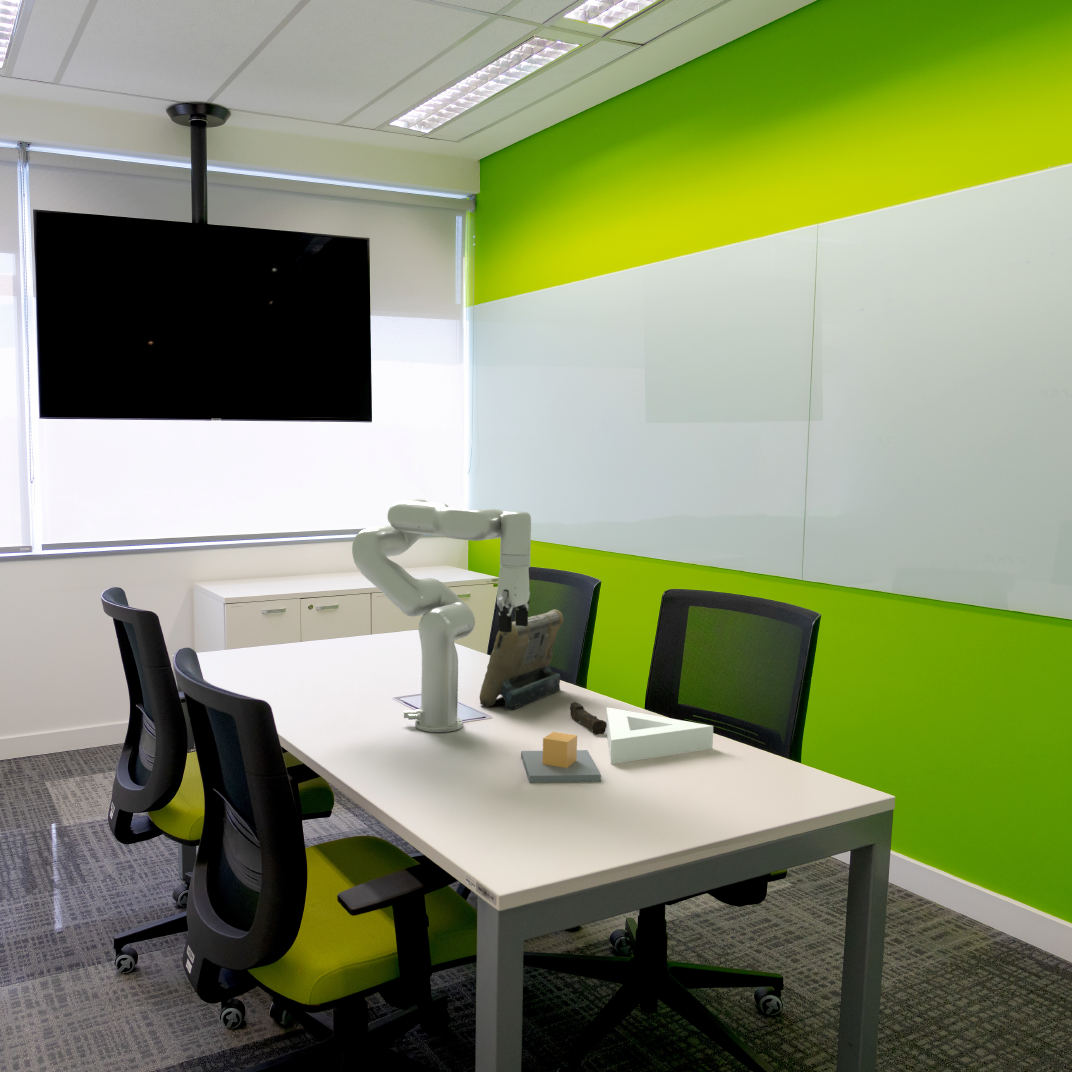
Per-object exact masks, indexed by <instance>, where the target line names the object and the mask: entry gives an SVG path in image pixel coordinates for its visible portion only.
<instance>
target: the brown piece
mask: <svg viewBox="0 0 1072 1072" xmlns="http://www.w3.org/2000/svg"><path fill="white" fill-rule="evenodd" d="M569 711H570V712H569V713H570V717H571V719H572V720H573V721H574V722H579V723H580V725H581V724H582V725H583V726H585V727H586V728H588V730H589V729H590V731H591V732H592V734H593V735H594V736H596V735H603V734H605V733H606V725H607V724H606V721H605V720H603V719H599V717H597V715H593V714H591V713H590V712H588V711H587V710H586V709H585V707H584V706H583V705H582V704H580V703H579V702H576V701H573V702H570V705H569Z"/></svg>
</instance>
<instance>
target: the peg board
mask: <svg viewBox="0 0 1072 1072" xmlns="http://www.w3.org/2000/svg"><path fill="white" fill-rule="evenodd" d="M520 754H521V755H520V756H521V757H520V758H521V760H522V765H523V767H524V771H525V773H526V776H527V779H528V782H529V783H568V782H570V783H572V782H573V783H577V782H601V781H602V774H601V772H600V770H599V769H598V766H597V765H596V763H595V760H594V759H593V757H592V756H591V754H590V753H589V751H588V749H579V750H578V749H577V759H576V761H575V762H574V763H573V764H571V765H570V766H569V767H567V768H564V767H558V766H552V765H546V764H543V750H521V751H520Z"/></svg>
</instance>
